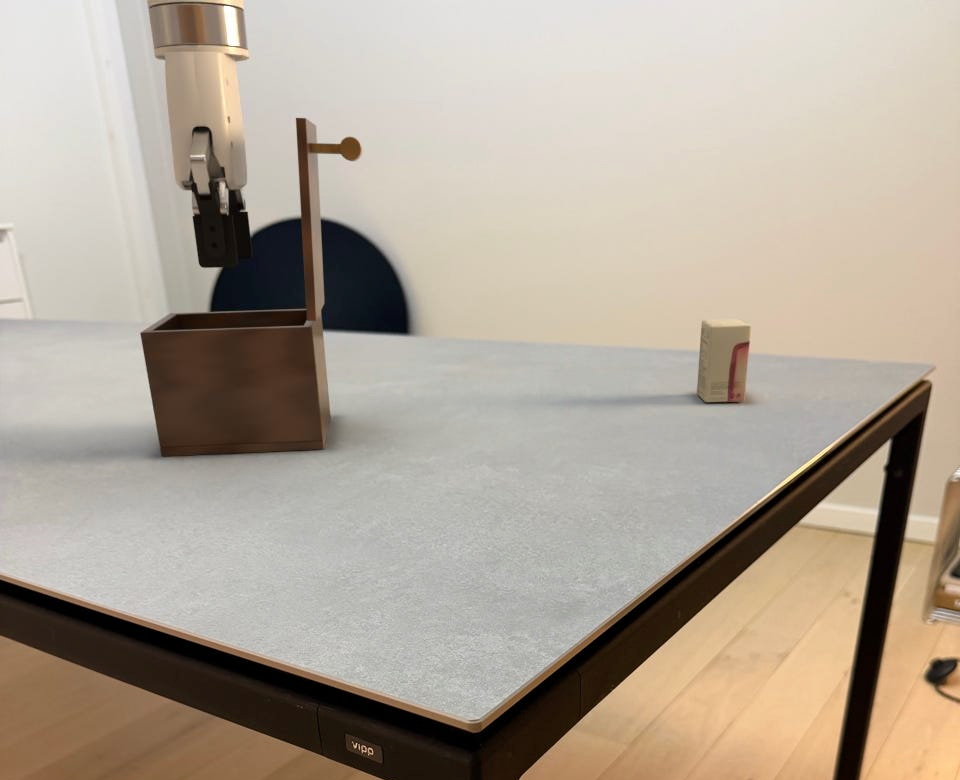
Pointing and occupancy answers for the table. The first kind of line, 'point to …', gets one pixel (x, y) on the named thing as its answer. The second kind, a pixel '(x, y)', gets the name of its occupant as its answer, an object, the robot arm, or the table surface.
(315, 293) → the lid
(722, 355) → the small box
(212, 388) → the chest
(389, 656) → the table surface
